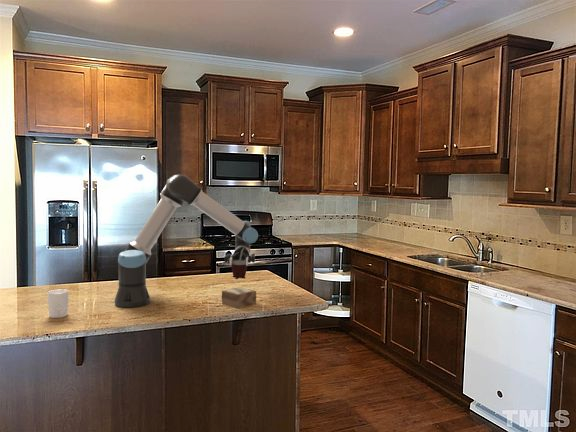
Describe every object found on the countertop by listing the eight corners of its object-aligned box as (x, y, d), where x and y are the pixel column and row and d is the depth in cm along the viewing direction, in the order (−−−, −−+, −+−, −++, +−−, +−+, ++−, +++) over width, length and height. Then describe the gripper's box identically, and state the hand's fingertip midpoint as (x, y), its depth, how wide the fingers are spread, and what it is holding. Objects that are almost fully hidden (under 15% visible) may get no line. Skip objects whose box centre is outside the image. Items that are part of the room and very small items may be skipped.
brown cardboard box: (237, 308, 204) (237, 294, 204) (221, 303, 211) (221, 290, 211) (256, 304, 212) (256, 290, 212) (240, 299, 220) (240, 286, 219)
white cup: (72, 313, 193) (72, 289, 192) (64, 318, 185) (63, 293, 184) (53, 312, 193) (52, 289, 192) (44, 318, 185) (43, 293, 184)
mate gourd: (235, 275, 216) (236, 243, 215) (250, 277, 213) (251, 244, 212) (228, 278, 209) (228, 245, 208) (244, 280, 206) (244, 247, 205)
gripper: (261, 262, 229) (260, 270, 206) (221, 261, 228) (216, 270, 205) (261, 246, 228) (260, 254, 205) (221, 246, 228) (216, 253, 205)
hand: (238, 262), depth 205 cm, fingers closed on mate gourd, 6 cm apart
